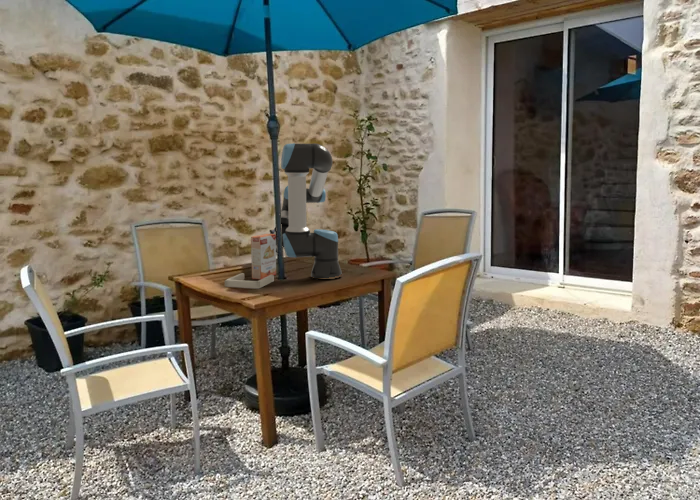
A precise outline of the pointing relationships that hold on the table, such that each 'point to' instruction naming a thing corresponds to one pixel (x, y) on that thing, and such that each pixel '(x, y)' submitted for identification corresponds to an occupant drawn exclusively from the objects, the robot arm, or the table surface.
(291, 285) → the table surface
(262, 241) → the cracker box
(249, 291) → the table surface
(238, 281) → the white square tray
